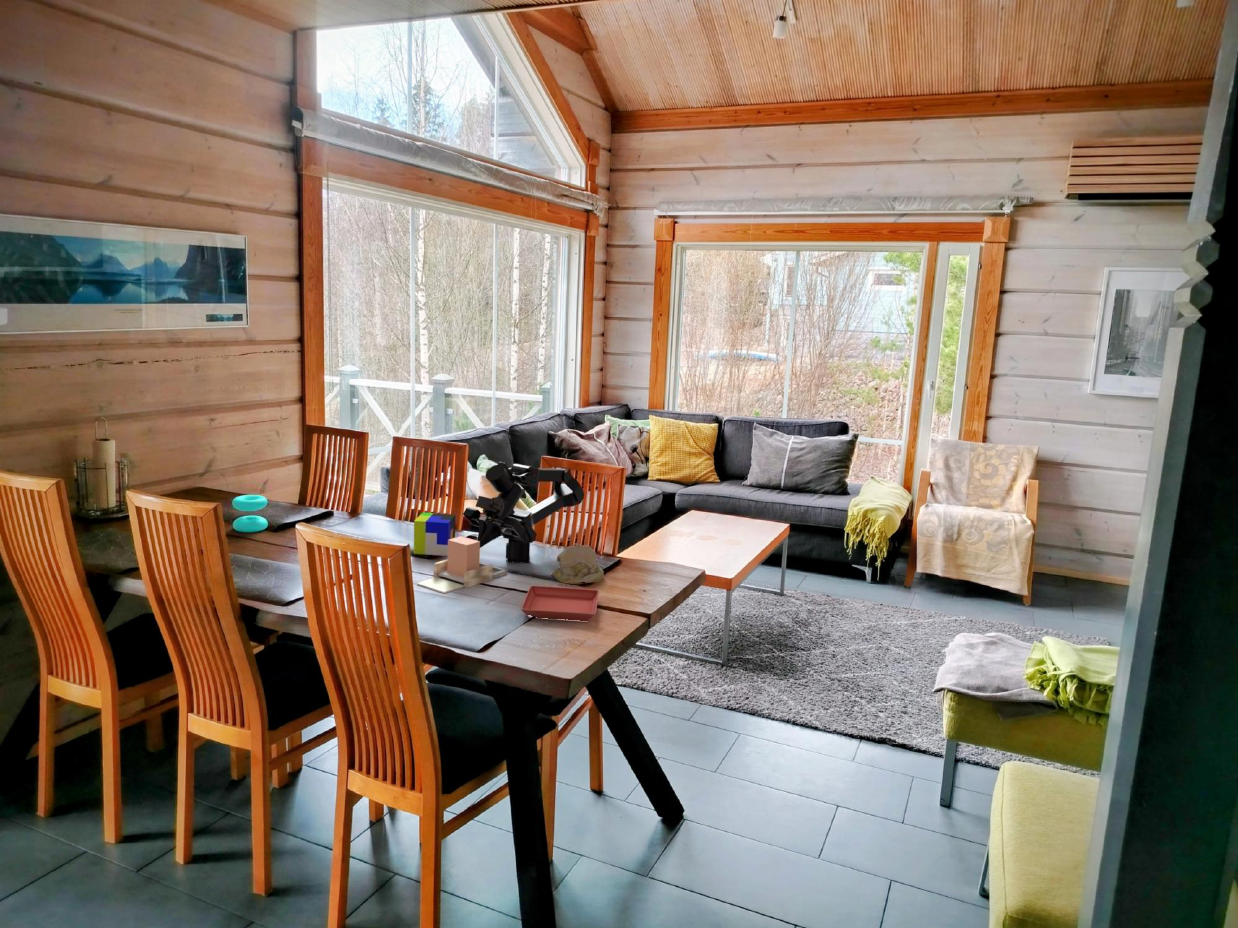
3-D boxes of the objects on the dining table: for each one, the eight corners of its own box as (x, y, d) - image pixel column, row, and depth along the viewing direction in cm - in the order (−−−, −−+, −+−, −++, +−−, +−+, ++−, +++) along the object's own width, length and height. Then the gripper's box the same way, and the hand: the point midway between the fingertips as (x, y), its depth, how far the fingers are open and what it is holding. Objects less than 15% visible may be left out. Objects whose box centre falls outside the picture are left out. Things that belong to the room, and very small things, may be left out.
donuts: (254, 492, 276) (274, 497, 270) (255, 522, 278) (274, 528, 272) (225, 497, 267) (245, 503, 262) (226, 528, 269) (245, 535, 264)
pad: (436, 578, 235) (436, 576, 235) (463, 586, 230) (463, 585, 230) (417, 584, 230) (417, 583, 230) (444, 593, 224) (444, 591, 224)
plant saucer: (529, 596, 227) (530, 584, 226) (598, 601, 227) (599, 588, 226) (519, 621, 209) (520, 608, 209) (594, 626, 209) (595, 613, 208)
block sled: (462, 567, 243) (463, 534, 241) (486, 575, 238) (487, 540, 236) (439, 575, 235) (439, 540, 234) (463, 583, 231) (464, 547, 229)
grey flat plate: (475, 564, 249) (475, 560, 249) (507, 573, 243) (507, 570, 243) (460, 568, 244) (460, 565, 244) (492, 578, 238) (492, 575, 238)
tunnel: (459, 569, 244) (460, 555, 243) (492, 578, 238) (492, 564, 237) (433, 577, 236) (433, 563, 235) (466, 587, 229) (466, 573, 229)
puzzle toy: (447, 555, 256) (448, 523, 254) (413, 553, 256) (414, 520, 254) (454, 546, 266) (455, 514, 264) (422, 544, 266) (422, 512, 264)
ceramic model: (555, 584, 236) (557, 549, 235) (548, 571, 247) (550, 537, 245) (606, 583, 240) (608, 548, 238) (596, 570, 251) (598, 536, 249)
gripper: (468, 479, 246) (438, 524, 239) (518, 490, 236) (489, 537, 229) (486, 502, 254) (458, 546, 247) (536, 513, 244) (508, 560, 237)
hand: (477, 547), depth 240 cm, fingers closed
